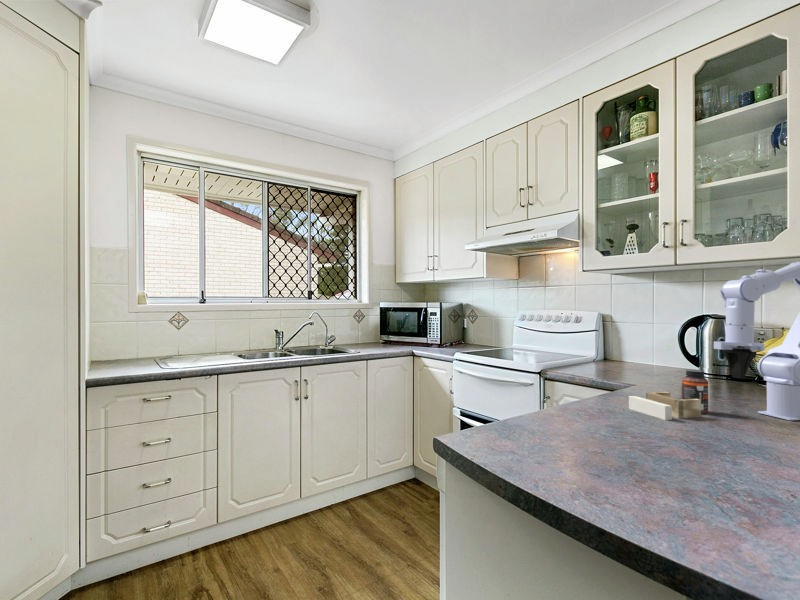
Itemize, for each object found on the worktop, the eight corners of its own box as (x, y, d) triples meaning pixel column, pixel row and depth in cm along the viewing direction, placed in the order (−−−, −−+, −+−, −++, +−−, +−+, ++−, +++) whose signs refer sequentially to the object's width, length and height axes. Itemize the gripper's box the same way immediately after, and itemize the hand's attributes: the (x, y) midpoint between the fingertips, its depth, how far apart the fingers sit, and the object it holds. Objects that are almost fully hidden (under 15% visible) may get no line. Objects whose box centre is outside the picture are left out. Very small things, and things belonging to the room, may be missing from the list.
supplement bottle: (708, 415, 109) (708, 372, 109) (681, 411, 112) (681, 370, 112) (708, 411, 113) (708, 370, 114) (682, 407, 117) (682, 368, 117)
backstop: (634, 408, 116) (634, 395, 116) (671, 419, 104) (671, 405, 104) (628, 408, 115) (628, 396, 115) (665, 420, 103) (665, 406, 104)
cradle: (666, 407, 117) (666, 391, 117) (700, 417, 107) (700, 399, 107) (646, 408, 115) (646, 392, 116) (678, 418, 105) (678, 400, 105)
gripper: (734, 325, 101) (732, 380, 101) (777, 327, 104) (776, 380, 104) (706, 324, 108) (705, 375, 107) (748, 325, 111) (747, 376, 111)
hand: (738, 377), depth 106 cm, fingers closed
